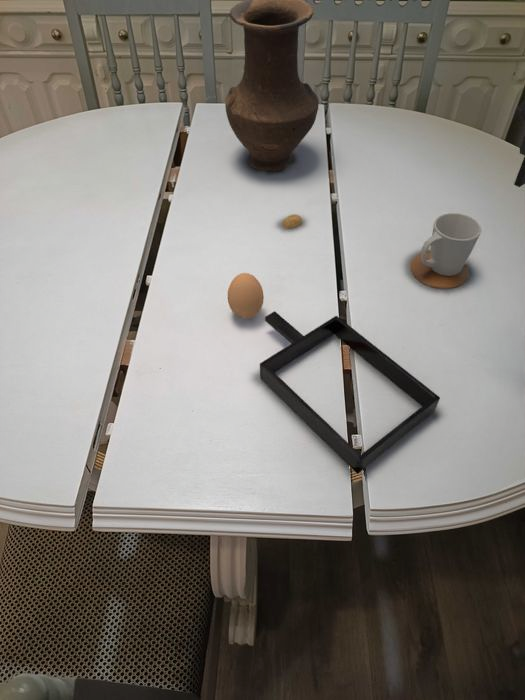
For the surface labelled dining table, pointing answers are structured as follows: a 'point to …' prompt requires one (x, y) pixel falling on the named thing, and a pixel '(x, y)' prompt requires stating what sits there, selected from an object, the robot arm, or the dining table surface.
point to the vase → (271, 83)
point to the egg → (245, 295)
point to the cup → (451, 243)
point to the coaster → (436, 275)
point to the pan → (371, 355)
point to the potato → (292, 221)
